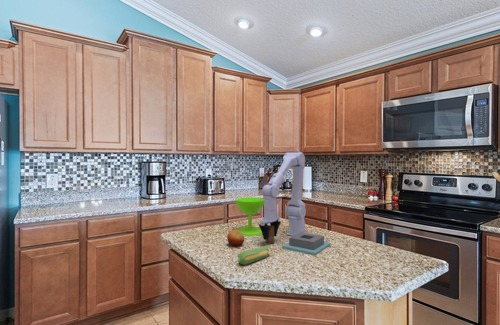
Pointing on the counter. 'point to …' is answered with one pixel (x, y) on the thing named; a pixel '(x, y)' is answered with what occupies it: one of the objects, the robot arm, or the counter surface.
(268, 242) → the peg
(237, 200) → the wineglass
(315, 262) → the counter surface
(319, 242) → the socket board
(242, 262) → the edible corn
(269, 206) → the robot arm
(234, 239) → the fruit
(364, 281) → the counter surface
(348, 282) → the counter surface
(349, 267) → the counter surface
